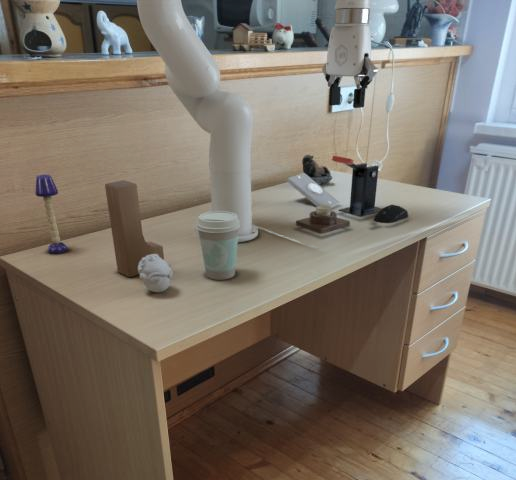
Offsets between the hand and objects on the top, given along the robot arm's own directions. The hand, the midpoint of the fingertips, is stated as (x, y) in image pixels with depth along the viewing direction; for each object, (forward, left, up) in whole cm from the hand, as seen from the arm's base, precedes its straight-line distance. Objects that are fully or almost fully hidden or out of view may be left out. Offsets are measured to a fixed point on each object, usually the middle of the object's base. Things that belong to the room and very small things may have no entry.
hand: (346, 105), depth 127 cm
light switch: (+5, +15, -28) cm, 32 cm away
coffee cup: (-46, -11, -28) cm, 55 cm away
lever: (+4, 0, -16) cm, 16 cm away
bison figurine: (+23, +32, -28) cm, 48 cm away
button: (-9, -3, -24) cm, 26 cm away
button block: (-9, -3, -28) cm, 29 cm away
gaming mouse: (+8, -10, -28) cm, 31 cm away
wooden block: (-57, +2, -28) cm, 63 cm away
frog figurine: (-60, -10, -28) cm, 67 cm away
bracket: (+9, 0, -28) cm, 29 cm away
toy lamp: (-66, +25, -28) cm, 76 cm away
